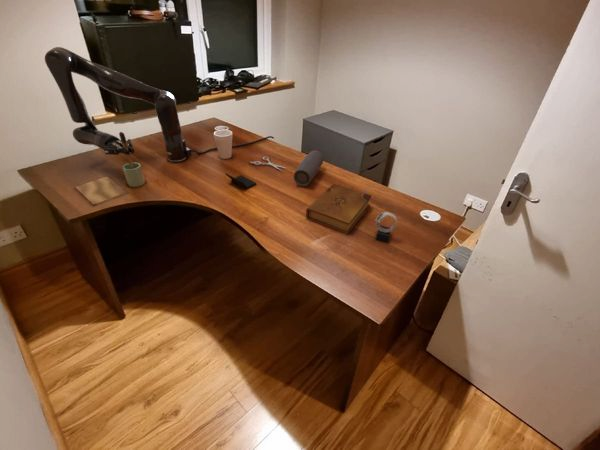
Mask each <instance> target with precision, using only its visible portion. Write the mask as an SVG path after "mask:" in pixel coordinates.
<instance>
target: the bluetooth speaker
mask: <svg viewBox="0 0 600 450" xmlns="http://www.w3.org/2000/svg"><path fill="white" fill-rule="evenodd" d="M324 157H325V156H324V155H323V153H322V152H321V151H319V150H317V149H313V150H312V151H310V152H309V153H308V154H307V155H306V156H305V157H304V158H303V159H302V161H301V162H300V163H299V165H298V166H297V168H296V169H295V171H294V174H293V180H294V182H295V183H296V184H297V185H299V186H301V187H305V186H308V185H309V184H310V183H311V182H312V181H313V179H314V178H315V177H316V175H317V174H318V173H319V171H320V169H321V167H322V165H323V164H324V160H325V158H324Z"/></svg>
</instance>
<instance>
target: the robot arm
mask: <svg viewBox="0 0 600 450" xmlns="http://www.w3.org/2000/svg"><path fill="white" fill-rule="evenodd" d="M44 63H45V65H46V67H47V68H48V70H49V72H50V74H51V76H52V77H53V79H54V81H55V83H56V85H57V87H58V88H59V91H60V93H61V95H62V98H63V101H64V102H65V105H66V108H67V110H68V113H69V116H70V119H71V120H72V121H73V123H76V124H84V125H81V126H78V127H76V128H74V129H73V130H72V137H73V139H74V140H75V142H78V143H80V144H82V145H88V146H89V145H90V146H95V147H98V148H99V149H101V150H103V152H104V154H105V155H112V156H114V155H115V156H116V155H120V154H122V155H126V154H127V155H130V156H131V154H135V149H134V147H133V143H132V140H131V139H130V138H128V139H127V140H126V142H127V146H128V149H125V148H124V147H123V144H122V142H121V139H120V138H119V137H118V136H115V135H113V134H110V133H108V132H103V131H101V130H98V128H97V126H96V125H95V123H94V122H93V120H92V118H91V117H90V115H89V112H88V109H87V106H86V104H85V102H84V99H83V98H82V96H81V94H80V93H79V91H78V89H77V87H76V85H75V82H74V78H73V74H72V73H74V74H77V75H80V76H81V77H82V76H83V77H85V78H87V79H89V80H90V81H92V82H93V83H95V84H97V85H98V86H99V87H101V88H102V89H104V90H106V91H108V92H110V93H112V94H115V95H118V96H121V97H124V98H129V99H136V100H141V101H144V102H147V103H149V104H152V105H154V109H155V113H156V116H157V120H158V123H159V126H160V131H161V134H162V138H163V143H164V147H165V152H166V155H167V160H168V162H171V163H180V162H184V161H186V160H187V159H188V158H189V156H192V152H194V153H196V154H198V155H203V154H207V153H208V152H211V151H216V150H218V149H217V147H213V148H208V149H207V150H204V151H198V150H195V149H191V148H189V147H187V144H186V141H185V139H184V137H183V133H182V128H181V122H180V119H179V118H180V117H179V113H178V108H177V100H176V98H175V96H174V95H173V94H172V93H171V92H169V91H166V90H163V89H160V88H156V87H153V86H150V85H148V84H145V83H144V82H142V81H139V80H137V79H135V78H132V77H130V76H128V75H127V74H124V73H121V72H119V71H117V70H114V69H111V68H110V67H106V66H104V65H102V64H99V63H96V62H94V61H91V60H88V59H87V58H85V57H82V56H80V55H78V54H77V53H75V52H73V51H71V50H70V49H67V48H64V47H61V46H56V47H55V46H54V47H52V48H51V49H49V50H48V51H47V52H46V53H45V55H44ZM268 139H273V140H274V139H275V137H274V136H273V135H268V136H266V137H262V138H259V139H257V140H253V141H249V142H245V143H241V144H236V145H232V148H238V147H243V146H248V145H251V144H255V143H258V142H261V141H265V140H268Z"/></svg>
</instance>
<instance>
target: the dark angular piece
mask: <svg viewBox="0 0 600 450" xmlns="http://www.w3.org/2000/svg"><path fill="white" fill-rule="evenodd" d="M225 175H226V176H227V177H228V178H229V179H230V180H231V182H232V183H234V184H236V185H239V186H240V187H242V188H244V189H246V190H248V189H251V188H252V187H254V186H256V185H257V182H256V181H253V180H251V179H249V178H247V177H245V176H244V175H241V174H240V175H238V176H236V177H234V176H233V175H231V174H228V173H225Z"/></svg>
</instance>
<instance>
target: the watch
mask: <svg viewBox="0 0 600 450" xmlns="http://www.w3.org/2000/svg"><path fill="white" fill-rule="evenodd" d="M387 217H389V218H391V219H393V220H394V221H395V223H393V225H391V226H390V227H389V226H385V225H381V223H382V222H383V221H384V220H385V218H387ZM374 223H375V228H376V229H377V233H376V237H375V240H376V241H379V242H383V243H388V241H389V238H390V236H391V235H390V234H391V232H393V231H394V230H395V229H396V228H397V226H398V217H397V216H396V214H394V213H393V212H390V211H382V212H380V213H379V214H378V215H377V217H376V218H375V220H374Z"/></svg>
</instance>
